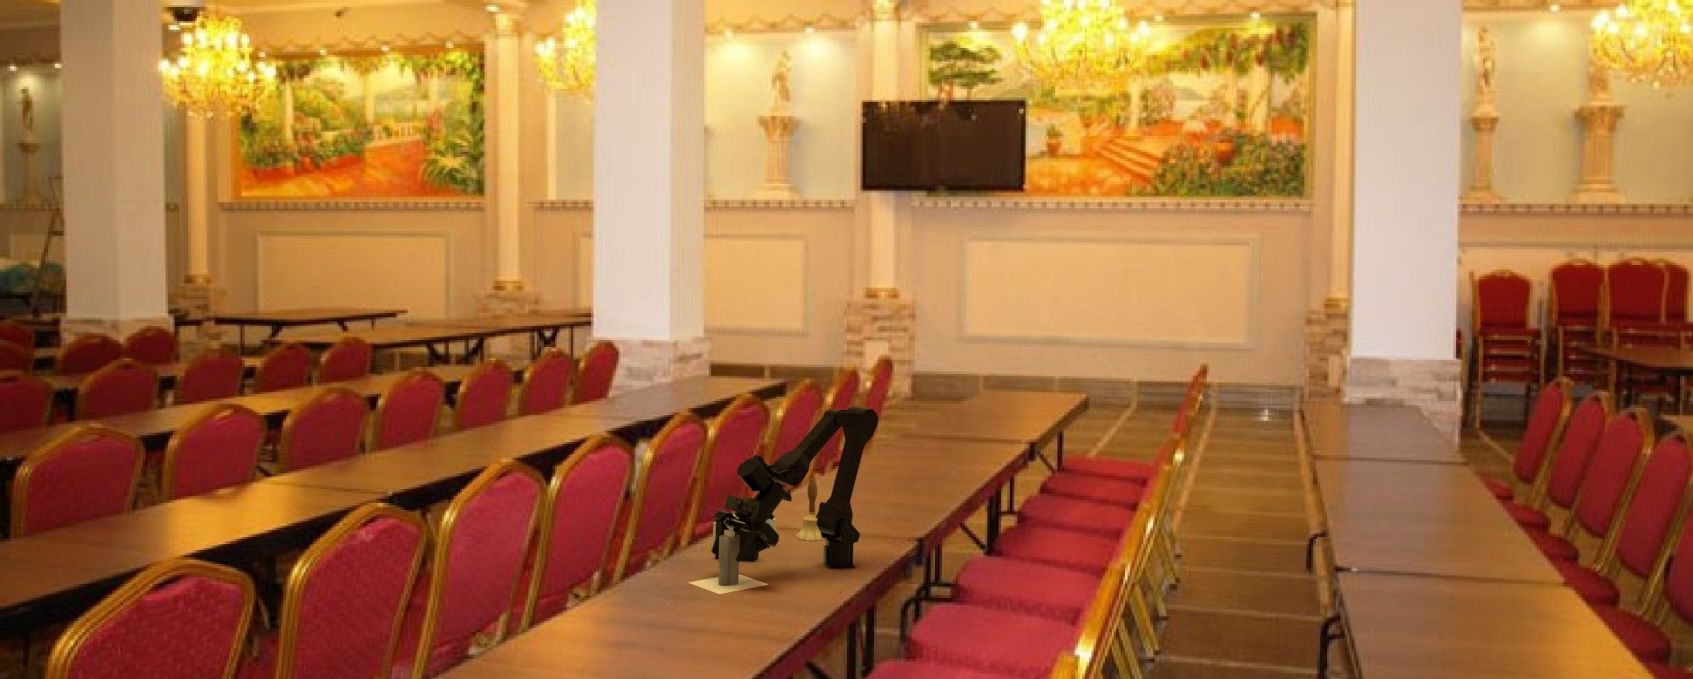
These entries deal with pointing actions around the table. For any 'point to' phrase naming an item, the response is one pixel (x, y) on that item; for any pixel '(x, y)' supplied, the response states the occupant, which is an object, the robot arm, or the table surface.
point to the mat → (715, 587)
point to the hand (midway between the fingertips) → (724, 556)
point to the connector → (728, 558)
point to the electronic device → (741, 543)
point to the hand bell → (810, 517)
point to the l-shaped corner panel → (771, 522)
